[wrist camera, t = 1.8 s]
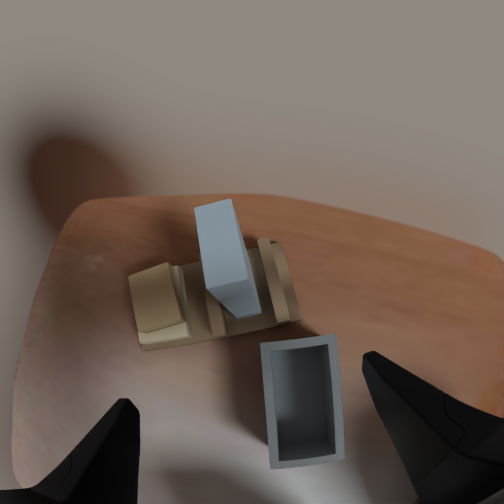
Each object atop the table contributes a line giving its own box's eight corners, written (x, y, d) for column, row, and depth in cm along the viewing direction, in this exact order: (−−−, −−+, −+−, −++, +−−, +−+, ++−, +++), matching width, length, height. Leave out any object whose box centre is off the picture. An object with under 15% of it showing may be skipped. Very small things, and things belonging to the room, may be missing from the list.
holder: (332, 441, 17) (344, 459, 13) (272, 448, 18) (270, 469, 13) (324, 338, 21) (335, 333, 17) (263, 345, 21) (260, 342, 17)
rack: (301, 320, 22) (304, 313, 19) (145, 351, 22) (125, 348, 19) (280, 244, 24) (280, 227, 21) (137, 278, 25) (119, 267, 21)
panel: (261, 313, 22) (248, 278, 12) (237, 318, 22) (206, 288, 12) (250, 262, 23) (230, 198, 14) (227, 268, 23) (194, 207, 14)
